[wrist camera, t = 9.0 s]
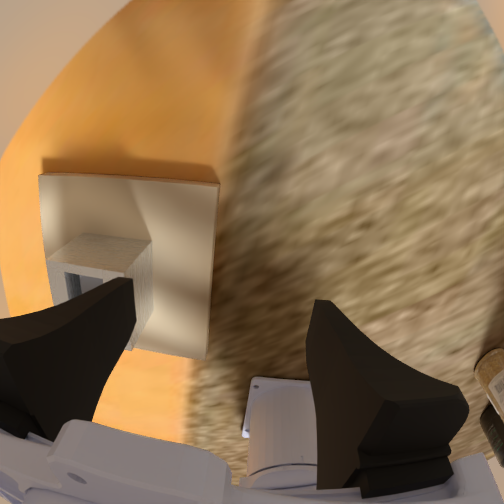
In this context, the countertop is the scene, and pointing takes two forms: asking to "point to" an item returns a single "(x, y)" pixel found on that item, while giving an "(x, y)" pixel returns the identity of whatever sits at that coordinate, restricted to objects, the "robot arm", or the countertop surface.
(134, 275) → the hollow square tube
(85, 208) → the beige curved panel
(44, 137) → the countertop surface
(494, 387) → the sprinkles bottle
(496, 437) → the supplement bottle
